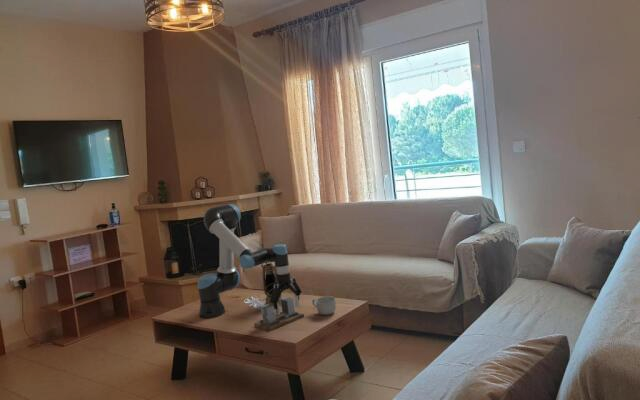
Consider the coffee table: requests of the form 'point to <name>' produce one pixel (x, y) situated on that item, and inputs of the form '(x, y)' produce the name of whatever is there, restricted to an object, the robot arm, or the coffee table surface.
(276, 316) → the finger rail
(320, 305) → the teacup
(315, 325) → the coffee table surface
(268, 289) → the lantern
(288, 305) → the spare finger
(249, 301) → the coffee table surface
